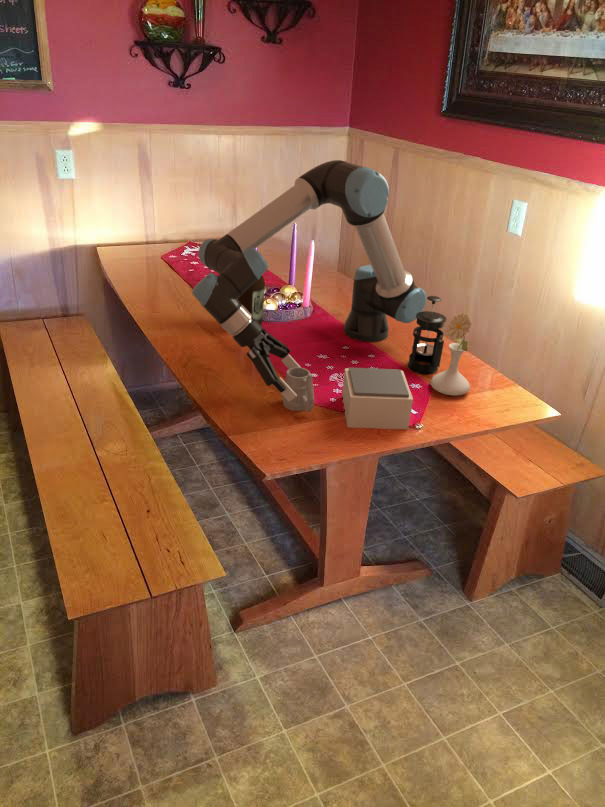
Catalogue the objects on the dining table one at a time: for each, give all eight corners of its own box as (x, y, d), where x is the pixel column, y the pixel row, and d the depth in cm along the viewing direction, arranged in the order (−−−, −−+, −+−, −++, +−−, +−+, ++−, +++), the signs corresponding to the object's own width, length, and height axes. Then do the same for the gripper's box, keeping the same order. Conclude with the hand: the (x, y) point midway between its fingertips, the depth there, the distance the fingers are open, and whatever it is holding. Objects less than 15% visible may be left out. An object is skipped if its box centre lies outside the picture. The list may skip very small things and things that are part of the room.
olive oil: (225, 328, 222) (225, 255, 209) (242, 318, 230) (244, 247, 218) (252, 336, 218) (254, 262, 205) (269, 326, 226) (272, 254, 213)
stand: (341, 396, 187) (345, 365, 182) (398, 399, 188) (403, 368, 183) (347, 427, 173) (351, 394, 168) (408, 429, 174) (413, 396, 169)
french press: (399, 362, 208) (410, 293, 196) (423, 358, 212) (435, 289, 201) (423, 379, 199) (435, 307, 188) (447, 373, 203) (461, 303, 192)
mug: (301, 395, 186) (303, 356, 180) (323, 415, 177) (327, 375, 171) (277, 400, 182) (279, 361, 176) (298, 421, 174) (301, 381, 168)
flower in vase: (427, 379, 199) (441, 300, 187) (465, 381, 199) (481, 303, 187) (433, 400, 188) (448, 318, 176) (473, 403, 188) (491, 321, 176)
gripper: (242, 317, 182) (293, 372, 188) (220, 355, 161) (278, 417, 167) (262, 301, 179) (313, 358, 185) (242, 338, 158) (300, 401, 164)
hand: (297, 386), depth 176 cm, fingers open, 13 cm apart
